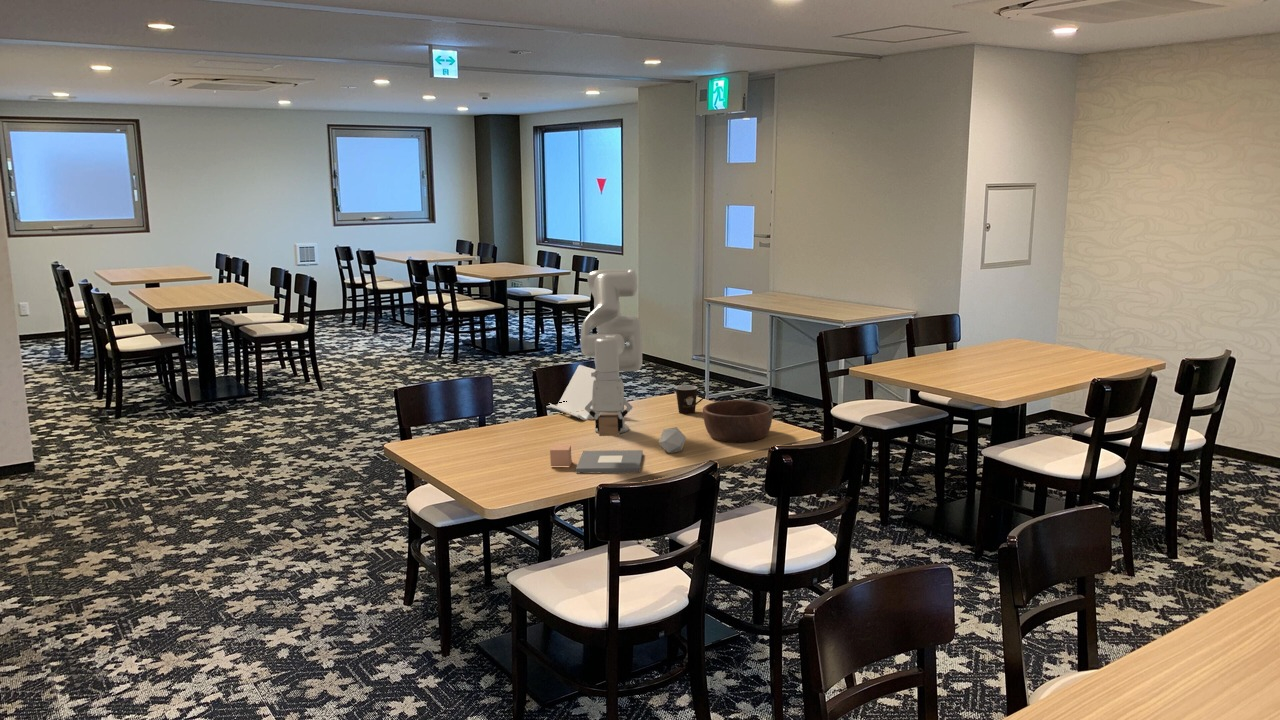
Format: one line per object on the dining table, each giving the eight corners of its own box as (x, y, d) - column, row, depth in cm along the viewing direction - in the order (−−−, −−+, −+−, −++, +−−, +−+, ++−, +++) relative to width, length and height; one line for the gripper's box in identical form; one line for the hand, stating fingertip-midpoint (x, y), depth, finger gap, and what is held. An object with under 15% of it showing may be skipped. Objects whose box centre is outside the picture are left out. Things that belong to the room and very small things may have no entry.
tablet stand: (586, 403, 393) (584, 363, 390) (617, 415, 373) (616, 373, 370) (547, 410, 384) (545, 369, 381) (577, 422, 363) (575, 379, 360)
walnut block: (601, 431, 309) (600, 413, 308) (619, 431, 309) (618, 413, 308) (599, 436, 303) (598, 417, 302) (617, 435, 303) (617, 417, 302)
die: (678, 447, 326) (661, 426, 325) (694, 439, 320) (677, 418, 319) (667, 461, 321) (649, 440, 319) (683, 453, 314) (665, 431, 313)
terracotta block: (553, 462, 311) (552, 445, 310) (571, 462, 311) (570, 444, 310) (550, 468, 305) (550, 450, 304) (569, 467, 305) (568, 449, 304)
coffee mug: (674, 414, 370) (674, 389, 368) (677, 409, 378) (676, 385, 376) (704, 415, 368) (703, 390, 366) (706, 410, 376) (706, 385, 374)
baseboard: (583, 455, 318) (583, 450, 318) (642, 454, 317) (642, 450, 317) (576, 473, 299) (576, 468, 298) (639, 472, 298) (639, 467, 297)
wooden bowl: (787, 436, 335) (788, 408, 333) (733, 449, 321) (733, 420, 319) (741, 423, 355) (741, 396, 353) (688, 434, 341) (688, 406, 339)
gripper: (579, 378, 299) (581, 433, 302) (633, 377, 298) (635, 433, 301) (582, 374, 307) (584, 427, 310) (635, 373, 306) (636, 427, 309)
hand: (609, 429), depth 306 cm, fingers closed on walnut block, 6 cm apart
